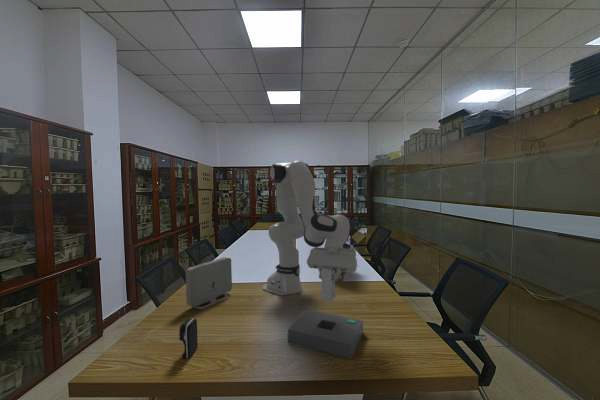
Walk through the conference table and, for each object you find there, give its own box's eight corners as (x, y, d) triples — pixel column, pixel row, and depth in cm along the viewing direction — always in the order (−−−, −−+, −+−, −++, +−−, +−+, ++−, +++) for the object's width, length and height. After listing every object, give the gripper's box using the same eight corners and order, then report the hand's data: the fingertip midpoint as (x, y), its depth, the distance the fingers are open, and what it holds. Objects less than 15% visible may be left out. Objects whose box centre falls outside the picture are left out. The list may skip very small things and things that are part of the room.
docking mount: (288, 342, 102) (287, 328, 101) (307, 320, 118) (307, 308, 118) (351, 359, 91) (351, 343, 91) (363, 332, 108) (363, 319, 107)
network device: (194, 312, 127) (193, 270, 126) (183, 308, 132) (181, 267, 131) (235, 294, 149) (234, 257, 148) (223, 291, 153) (222, 255, 152)
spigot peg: (321, 299, 106) (321, 268, 105) (325, 295, 109) (324, 266, 109) (331, 301, 104) (331, 270, 103) (335, 297, 108) (334, 267, 107)
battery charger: (188, 346, 100) (187, 316, 99) (198, 347, 99) (197, 316, 99) (178, 359, 93) (177, 326, 92) (189, 359, 92) (188, 326, 92)
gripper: (309, 243, 116) (300, 272, 108) (357, 246, 108) (351, 278, 99) (313, 251, 121) (305, 279, 112) (360, 254, 112) (354, 286, 104)
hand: (327, 279), depth 106 cm, fingers closed on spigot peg, 4 cm apart
